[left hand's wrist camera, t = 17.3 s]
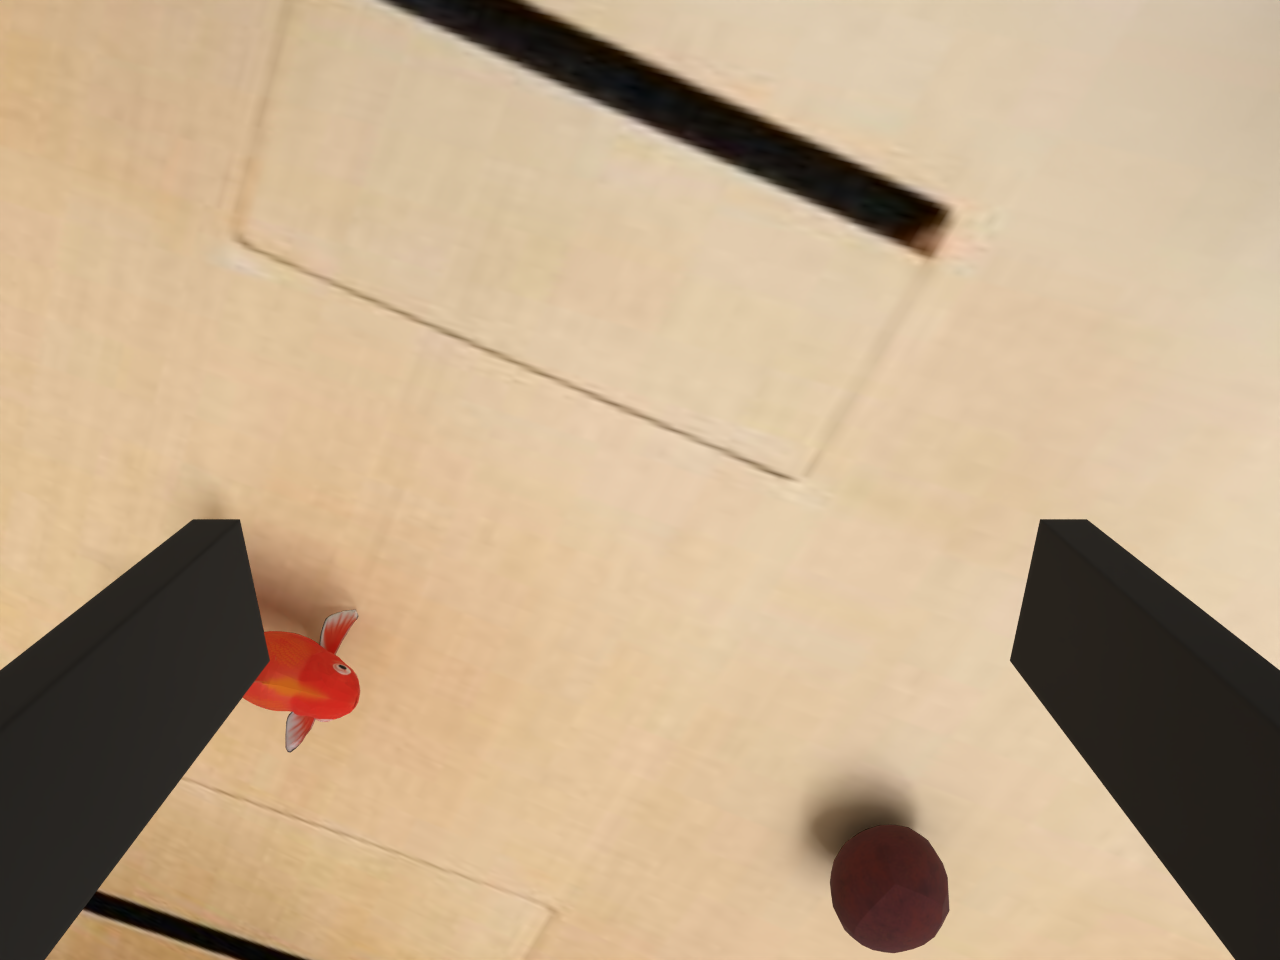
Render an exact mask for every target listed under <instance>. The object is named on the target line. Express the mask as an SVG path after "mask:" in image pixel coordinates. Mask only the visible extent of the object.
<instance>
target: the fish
mask: <svg viewBox="0 0 1280 960" xmlns="http://www.w3.org/2000/svg"><path fill="white" fill-rule="evenodd" d="M357 618H358V614H357V612H356V610H346V611H341V612H338V613H335V614H333V615H330V616H329V617H327V618H326V619H325V622H324V625H323V628H322V631H321V636H320V645H319V644H318V643H316V642H315V641H313V640H311V639H309V638H307V637H305V636H302V635H299V634H296V633H289V632H281V631H269V632H264V635H265V639H266V644H267V649H268V653H269V658H270V661H269V663H268V664H267V665H266V667H265V668H264V669H263V671H262V672H261V673H260V675H259V676H258V677H257V679H256V680H255V681H254V683H253V684H252V685H251V687H250V688H249V689H248V691H247V692H246V693H245V695H244V696H243V698H244V699H246V700H247V701H249V702H251V703H252V704H255V705H257V706H260V707H262V708H265V709H269V710H274V711H292V712H291V713H290V714H289V716H288V718H287V722H286V749H287V751H288V752H292V751H293V750H294V749H296V748H297V747H298V746H299V745H300V743H301V742H302V741H303V739H304V738H305V736H306V735H307V733H308V732H309V731H310V730H311V728H312V726H313V724H314V721H315V719H316V720H318V721H322V722H328V721H331V720H334V719H337V718H340V717H342V716H344V715H346V714H349V713H350V712H351V711H352V710H353V709H354V708H355V707H356V705H357V703H358V701H359V695H360V686H359V681H358V678H357V675H356V674H355V672H354V671H353V670H352V669H351V668H350V667H349V666H348V665H346V664H345V663H344V662H343V661H342V660H341V659H340V658H339V657H338V656H336V655H335V654H336V652H337V650H338V648H339V646H340V644H341V642H342V641H343V639H344V637H345V636H346V634H347V633H348V631H349V629H350V627H351V626H352V624H353V623H354V622H355V620H357Z"/></svg>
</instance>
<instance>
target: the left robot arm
mask: <svg viewBox="0 0 1280 960" xmlns="http://www.w3.org/2000/svg"><path fill="white" fill-rule="evenodd" d="M269 661H270V658H269V653H268V649H267V644H266V639H265V635H264V630H263V625H262V621H261V616H260V611H259V607H258V602H257V597H256V593H255V588H254V583H253V579H252V574H251V569H250V565H249V560H248V555H247V551H246V546H245V541H244V537H243V532H242V527H241V523H240V519H193V520H192V521H191V522H189V523H188V524H187V525H185V526H184V527H183V528H182V529H180V530H179V531H178V532H176V533H175V534H174V535H173V536H171V537H170V538H169V539H168V540H166V541H165V542H164V543H162V544H161V545H160V546H159V547H157V548H156V549H155V550H153V551H152V552H151V553H150V554H148V555H147V556H146V557H145V558H143V559H142V560H141V561H139V562H138V563H137V564H136V565H134V566H133V567H132V568H130V569H129V570H128V571H127V572H125V573H124V574H123V575H122V576H120V577H119V578H118V579H116V580H115V581H114V582H113V583H111V584H110V585H109V586H107V587H106V588H105V589H104V590H102V591H101V592H100V593H99V594H97V595H96V596H95V597H93V598H92V599H91V600H90V601H88V602H87V603H86V604H84V605H83V606H82V607H81V608H79V609H78V610H77V611H76V612H74V613H73V614H72V615H70V616H69V617H68V618H67V619H65V620H64V621H63V622H61V623H60V624H59V625H58V626H56V627H55V628H54V629H53V630H51V631H50V632H49V633H47V634H46V635H45V636H44V637H42V638H41V639H40V640H39V641H37V642H36V643H35V644H33V645H32V646H31V647H30V648H28V649H27V650H26V651H24V652H23V653H22V654H21V655H19V656H18V657H17V658H16V659H14V660H13V661H12V662H10V663H9V664H8V665H7V666H5V667H4V668H3V669H1V670H0V960H45V959H46V957H47V956H48V955H49V953H50V952H51V951H52V949H53V948H54V947H55V945H56V944H57V943H58V941H59V940H60V939H61V937H62V936H63V935H64V933H65V932H66V931H67V929H68V928H69V927H70V925H71V924H72V923H73V921H74V920H75V919H76V917H77V916H78V915H79V914H80V912H81V911H82V910H83V908H84V907H85V906H86V904H87V903H88V902H89V900H90V899H91V898H92V896H93V895H94V894H95V892H96V891H97V890H98V888H99V887H100V886H101V884H102V883H103V882H104V880H105V879H106V878H107V876H108V875H109V874H110V872H111V871H112V870H113V868H114V867H115V866H116V864H117V863H118V862H119V860H120V859H121V858H122V856H123V855H124V854H125V852H126V851H127V850H128V848H129V847H130V846H131V844H132V843H133V842H134V841H135V839H136V838H137V837H138V835H139V834H140V833H141V831H142V830H143V829H144V827H145V826H146V825H147V823H148V822H149V821H150V819H151V818H152V817H153V815H154V814H155V813H156V811H157V810H158V809H159V807H160V806H161V805H162V803H163V802H164V801H165V799H166V798H167V797H168V795H169V794H170V793H171V791H172V790H173V789H174V787H175V786H176V785H177V783H178V782H179V781H180V779H181V778H182V777H183V775H184V774H185V773H186V772H187V770H188V769H189V768H190V766H191V765H192V764H193V762H194V761H195V760H196V758H197V757H198V756H199V754H200V753H201V752H202V750H203V749H204V748H205V746H206V745H207V744H208V742H209V741H210V740H211V738H212V737H213V736H214V734H215V733H216V732H217V730H218V729H219V728H220V726H221V725H222V724H223V722H224V721H225V720H226V718H227V717H228V716H229V714H230V713H231V712H232V710H233V709H234V708H235V706H236V705H237V704H238V702H239V701H240V700H241V699H242V697H243V696H244V695H245V693H246V692H247V691H248V689H249V688H250V687H251V685H252V684H253V683H254V681H255V680H256V679H257V677H258V676H259V675H260V673H261V672H262V671H263V669H264V668H265V667H266V665H267V664H268V663H269ZM1010 661H1011V663H1012V664H1013V665H1014V667H1015V668H1016V669H1017V671H1018V672H1019V673H1020V675H1021V676H1022V677H1023V679H1024V680H1025V681H1026V683H1027V684H1028V685H1029V687H1030V688H1031V689H1032V691H1033V692H1034V693H1035V695H1036V696H1037V697H1038V699H1039V700H1040V701H1041V703H1042V704H1043V705H1044V706H1045V708H1046V709H1047V710H1048V712H1049V713H1050V714H1051V716H1052V717H1053V718H1054V720H1055V721H1056V722H1057V724H1058V725H1059V726H1060V728H1061V729H1062V730H1063V732H1064V733H1065V734H1066V736H1067V737H1068V738H1069V740H1070V741H1071V742H1072V744H1073V745H1074V746H1075V748H1076V749H1077V750H1078V752H1079V753H1080V754H1081V756H1082V757H1083V758H1084V760H1085V761H1086V762H1087V764H1088V765H1089V766H1090V768H1091V769H1092V770H1093V772H1094V773H1095V774H1096V775H1097V777H1098V778H1099V779H1100V781H1101V782H1102V783H1103V785H1104V786H1105V787H1106V789H1107V790H1108V791H1109V793H1110V794H1111V795H1112V797H1113V798H1114V799H1115V801H1116V802H1117V803H1118V805H1119V806H1120V807H1121V809H1122V810H1123V811H1124V813H1125V814H1126V815H1127V817H1128V818H1129V819H1130V821H1131V822H1132V823H1133V825H1134V826H1135V827H1136V829H1137V830H1138V831H1139V833H1140V834H1141V835H1142V837H1143V838H1144V839H1145V841H1146V842H1147V843H1148V844H1149V846H1150V847H1151V848H1152V850H1153V851H1154V852H1155V854H1156V855H1157V856H1158V858H1159V859H1160V860H1161V862H1162V863H1163V864H1164V866H1165V867H1166V868H1167V870H1168V871H1169V872H1170V874H1171V875H1172V876H1173V878H1174V879H1175V880H1176V882H1177V883H1178V884H1179V886H1180V887H1181V888H1182V890H1183V891H1184V892H1185V894H1186V895H1187V896H1188V898H1189V899H1190V900H1191V902H1192V903H1193V904H1194V906H1195V907H1196V908H1197V910H1198V911H1199V912H1200V914H1201V915H1202V916H1203V917H1204V919H1205V920H1206V921H1207V923H1208V924H1209V925H1210V927H1211V928H1212V929H1213V931H1214V932H1215V933H1216V935H1217V936H1218V937H1219V939H1220V940H1221V941H1222V943H1223V944H1224V945H1225V947H1226V948H1227V949H1228V951H1229V952H1230V953H1231V955H1232V956H1233V957H1234V959H1235V960H1280V670H1279V669H1277V668H1276V667H1275V666H1273V665H1272V664H1271V663H1270V662H1268V661H1267V660H1266V659H1264V658H1263V657H1262V656H1261V655H1259V654H1258V653H1257V652H1256V651H1254V650H1253V649H1252V648H1250V647H1249V646H1248V645H1247V644H1245V643H1244V642H1243V641H1241V640H1240V639H1239V638H1238V637H1236V636H1235V635H1234V634H1233V633H1231V632H1230V631H1229V630H1227V629H1226V628H1225V627H1224V626H1222V625H1221V624H1220V623H1219V622H1217V621H1216V620H1215V619H1213V618H1212V617H1211V616H1210V615H1208V614H1207V613H1206V612H1204V611H1203V610H1202V609H1201V608H1199V607H1198V606H1197V605H1196V604H1194V603H1193V602H1192V601H1190V600H1189V599H1188V598H1187V597H1185V596H1184V595H1183V594H1181V593H1180V592H1179V591H1178V590H1176V589H1175V588H1174V587H1173V586H1171V585H1170V584H1169V583H1167V582H1166V581H1165V580H1164V579H1162V578H1161V577H1160V576H1158V575H1157V574H1156V573H1155V572H1153V571H1152V570H1151V569H1150V568H1148V567H1147V566H1146V565H1144V564H1143V563H1142V562H1141V561H1139V560H1138V559H1137V558H1135V557H1134V556H1133V555H1132V554H1130V553H1129V552H1128V551H1127V550H1125V549H1124V548H1123V547H1121V546H1120V545H1119V544H1118V543H1116V542H1115V541H1114V540H1112V539H1111V538H1110V537H1109V536H1107V535H1106V534H1105V533H1104V532H1102V531H1101V530H1100V529H1098V528H1097V527H1096V526H1095V525H1093V524H1092V523H1091V522H1089V521H1088V520H1087V519H1040V523H1039V527H1038V532H1037V537H1036V541H1035V546H1034V551H1033V555H1032V560H1031V565H1030V569H1029V574H1028V579H1027V583H1026V588H1025V593H1024V597H1023V602H1022V607H1021V611H1020V616H1019V621H1018V625H1017V630H1016V635H1015V639H1014V644H1013V649H1012V653H1011V658H1010Z"/></svg>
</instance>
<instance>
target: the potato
mask: <svg viewBox="0 0 1280 960" xmlns="http://www.w3.org/2000/svg"><path fill="white" fill-rule="evenodd" d="M830 887H831V896H832V903H833V907H834V909H835V912H836V914H837V916H838V918H839V920H840V922H841V924H842V926H843V928H844V929H845V931H846V932H847V933H848V934H849V935H850V936H851V937H853V938H854V939H855V940H856V941H858V942H859V943H860V944H861V945H863V946H865V947H868V948H870V949H872V950H876V951H881V952H888V953H897V952H903V951H907V950H911V949H914V948H917V947H919V946H922V945H924V944H926V943H927V942H928V941H930V940H931V939H932V938H934V937H935V935H936V934H937V932H938V931H939V929H940V928H941V926H942V924H943V922H944V920H945V918H946V916H947V914H948V912H949V896H948V878H947V874H946V871H945V868H944V866H943V863H942V861H941V860H940V858H939V857H938V855H937V853H936V852H935V850H934V849H933V847H932V846H931V844H930V843H929V841H928V840H927V839H925V838H924V837H923V836H921V835H920V834H918V833H917V832H915V831H913V830H912V829H910V828H909V827H903V826H898V825H878V826H875V827H872V828H869V829H866V830H864V831H862V832H860V833H859V834H857V835H856V836H854V837H853V838H851V839H850V840H848V841H847V842H846V843H845V844H844V845H843V847H842V848H841V850H840V851H839V853H838V855H837V857H836V858H835V860H834V863H833V867H832V871H831V879H830Z"/></svg>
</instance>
